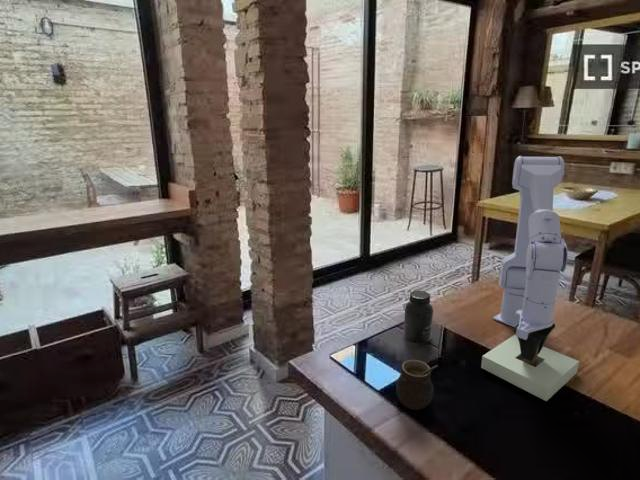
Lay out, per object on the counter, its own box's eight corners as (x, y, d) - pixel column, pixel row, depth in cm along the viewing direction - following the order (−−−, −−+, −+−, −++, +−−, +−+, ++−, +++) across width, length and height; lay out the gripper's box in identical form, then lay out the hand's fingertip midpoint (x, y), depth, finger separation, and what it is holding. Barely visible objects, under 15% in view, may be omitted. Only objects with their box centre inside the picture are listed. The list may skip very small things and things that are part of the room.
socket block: (513, 345, 97) (514, 334, 96) (576, 373, 86) (579, 361, 85) (480, 367, 89) (482, 355, 88) (546, 401, 78) (548, 388, 77)
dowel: (524, 359, 89) (528, 332, 87) (538, 366, 87) (542, 337, 85) (517, 365, 87) (521, 337, 85) (531, 371, 85) (535, 342, 83)
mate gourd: (398, 386, 83) (401, 344, 80) (436, 395, 80) (440, 352, 77) (391, 408, 77) (393, 364, 74) (431, 419, 74) (435, 374, 71)
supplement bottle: (432, 346, 97) (435, 301, 93) (403, 343, 98) (405, 299, 95) (430, 331, 104) (433, 289, 100) (403, 329, 105) (405, 287, 101)
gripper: (533, 282, 89) (525, 335, 94) (504, 303, 80) (496, 361, 84) (568, 292, 84) (558, 347, 89) (541, 315, 75) (531, 376, 79)
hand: (530, 355), depth 86 cm, fingers closed on dowel, 3 cm apart
